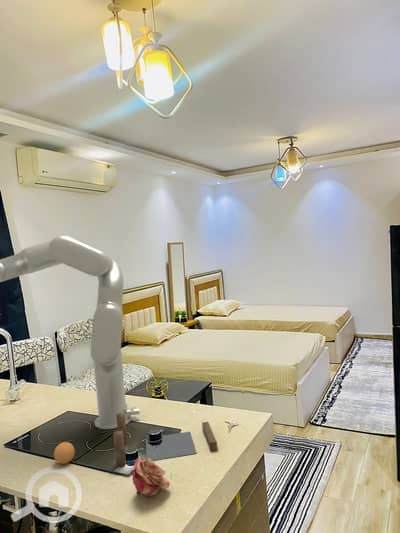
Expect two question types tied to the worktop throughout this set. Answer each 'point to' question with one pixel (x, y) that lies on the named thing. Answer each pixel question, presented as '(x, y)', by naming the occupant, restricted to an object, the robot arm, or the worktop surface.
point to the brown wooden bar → (209, 436)
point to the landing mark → (171, 447)
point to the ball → (64, 453)
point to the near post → (119, 448)
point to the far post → (121, 425)
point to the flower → (148, 477)
